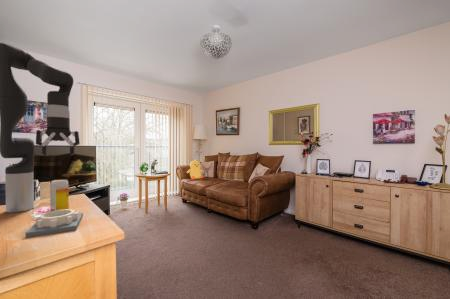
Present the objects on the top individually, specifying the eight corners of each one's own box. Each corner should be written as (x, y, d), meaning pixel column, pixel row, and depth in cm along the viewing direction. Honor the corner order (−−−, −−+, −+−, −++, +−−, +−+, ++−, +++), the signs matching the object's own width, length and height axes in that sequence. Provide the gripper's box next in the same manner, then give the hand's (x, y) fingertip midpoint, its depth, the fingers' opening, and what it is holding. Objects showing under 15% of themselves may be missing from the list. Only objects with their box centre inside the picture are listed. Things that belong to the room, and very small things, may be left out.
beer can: (72, 213, 91) (71, 179, 90) (59, 218, 85) (59, 182, 84) (59, 213, 91) (59, 179, 91) (46, 217, 85) (46, 181, 85)
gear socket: (41, 221, 81) (41, 210, 81) (83, 215, 88) (82, 205, 87) (25, 237, 67) (25, 223, 67) (76, 229, 73) (76, 217, 73)
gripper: (80, 119, 94) (80, 154, 94) (39, 116, 87) (40, 155, 87) (77, 117, 87) (77, 155, 87) (33, 114, 80) (33, 156, 81)
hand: (58, 155), depth 87 cm, fingers open, 8 cm apart
